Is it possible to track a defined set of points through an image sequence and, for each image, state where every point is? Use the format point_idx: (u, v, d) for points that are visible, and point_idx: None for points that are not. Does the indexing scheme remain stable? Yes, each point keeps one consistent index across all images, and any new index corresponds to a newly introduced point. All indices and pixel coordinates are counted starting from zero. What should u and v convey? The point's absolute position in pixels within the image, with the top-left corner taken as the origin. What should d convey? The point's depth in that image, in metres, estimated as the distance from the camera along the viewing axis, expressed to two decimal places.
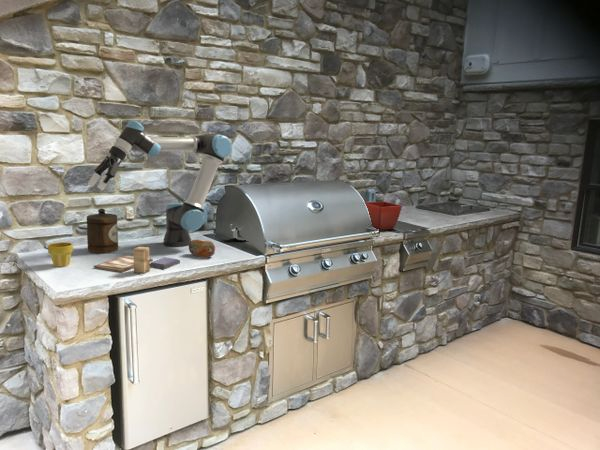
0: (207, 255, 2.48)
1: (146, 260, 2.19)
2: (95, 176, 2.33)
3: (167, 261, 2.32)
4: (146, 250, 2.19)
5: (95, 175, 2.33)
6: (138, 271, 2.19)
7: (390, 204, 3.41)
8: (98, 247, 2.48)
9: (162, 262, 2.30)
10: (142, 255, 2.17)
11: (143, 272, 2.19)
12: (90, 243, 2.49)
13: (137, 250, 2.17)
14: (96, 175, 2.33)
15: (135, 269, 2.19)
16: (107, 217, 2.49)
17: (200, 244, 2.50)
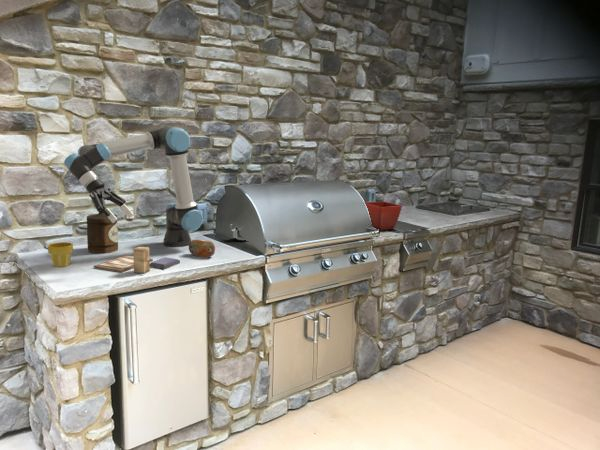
0: (207, 255, 2.48)
1: (146, 260, 2.19)
2: (123, 208, 2.29)
3: (167, 261, 2.32)
4: (146, 250, 2.19)
5: (122, 208, 2.29)
6: (138, 271, 2.19)
7: (390, 204, 3.41)
8: (98, 247, 2.48)
9: (162, 262, 2.30)
10: (142, 255, 2.17)
11: (143, 272, 2.19)
12: (90, 243, 2.49)
13: (137, 250, 2.17)
14: (122, 207, 2.29)
15: (135, 269, 2.19)
16: (107, 217, 2.49)
17: (200, 244, 2.50)
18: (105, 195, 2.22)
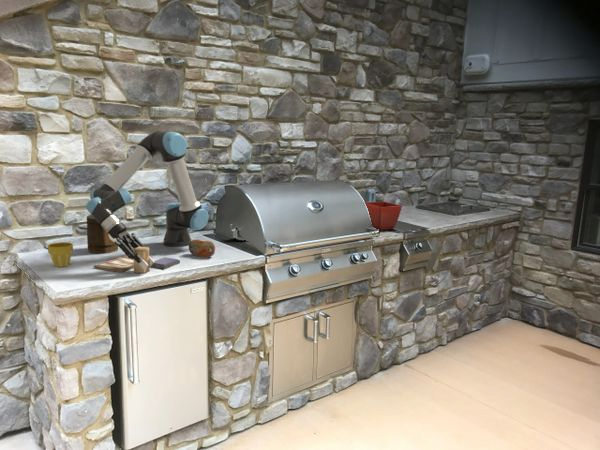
0: (207, 255, 2.48)
1: (146, 260, 2.19)
2: None
3: (167, 261, 2.32)
4: (146, 250, 2.19)
5: None
6: (138, 271, 2.19)
7: (390, 204, 3.41)
8: (98, 247, 2.48)
9: (162, 262, 2.30)
10: (142, 255, 2.17)
11: (143, 272, 2.19)
12: (90, 243, 2.49)
13: (137, 250, 2.17)
14: None
15: (135, 269, 2.19)
16: None
17: (200, 244, 2.50)
18: (127, 239, 2.19)
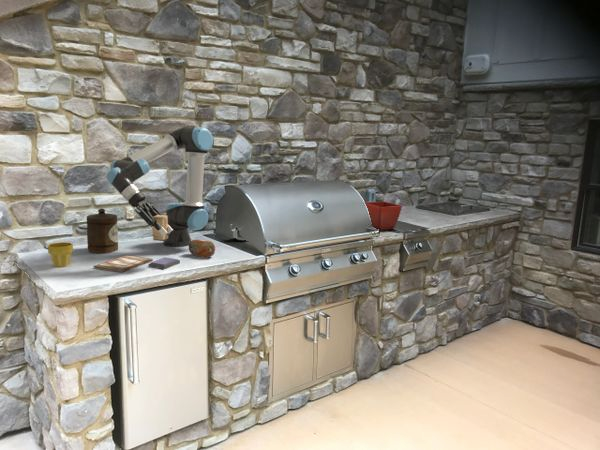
0: (207, 255, 2.48)
1: (164, 228, 2.27)
2: None
3: (167, 261, 2.32)
4: (165, 218, 2.27)
5: None
6: (157, 238, 2.27)
7: (390, 204, 3.41)
8: (98, 247, 2.48)
9: (162, 262, 2.30)
10: (161, 223, 2.25)
11: (162, 239, 2.27)
12: (90, 243, 2.49)
13: (156, 218, 2.25)
14: None
15: (154, 236, 2.27)
16: (107, 217, 2.49)
17: (200, 244, 2.50)
18: (147, 207, 2.27)
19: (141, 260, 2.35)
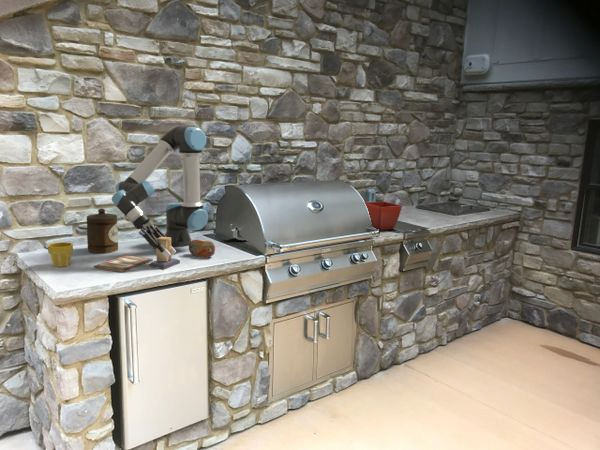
0: (207, 255, 2.48)
1: (168, 249, 2.31)
2: None
3: None
4: (168, 240, 2.31)
5: None
6: (161, 260, 2.31)
7: (390, 204, 3.41)
8: (98, 247, 2.48)
9: (162, 262, 2.30)
10: (164, 245, 2.29)
11: (165, 261, 2.30)
12: (90, 243, 2.49)
13: (160, 240, 2.29)
14: None
15: (158, 258, 2.31)
16: (107, 217, 2.49)
17: (200, 244, 2.50)
18: (151, 229, 2.31)
19: (141, 260, 2.35)
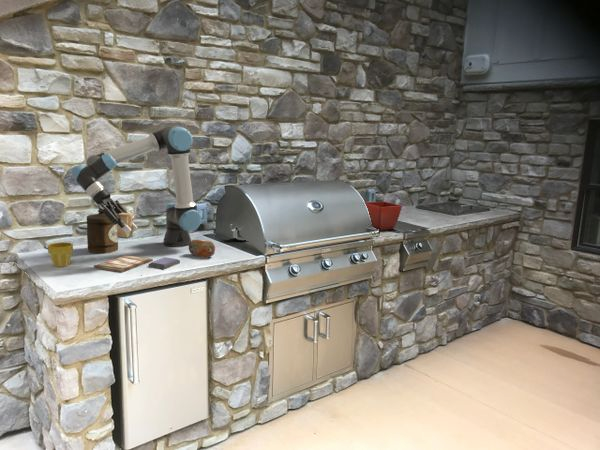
0: (207, 255, 2.48)
1: (129, 225, 2.27)
2: None
3: (167, 261, 2.32)
4: (129, 216, 2.27)
5: None
6: (121, 236, 2.27)
7: (390, 204, 3.41)
8: (98, 247, 2.48)
9: (162, 262, 2.30)
10: (125, 220, 2.25)
11: (126, 237, 2.27)
12: (90, 243, 2.49)
13: (120, 215, 2.25)
14: None
15: (118, 234, 2.27)
16: (107, 217, 2.49)
17: (200, 244, 2.50)
18: (111, 205, 2.27)
19: (141, 260, 2.35)
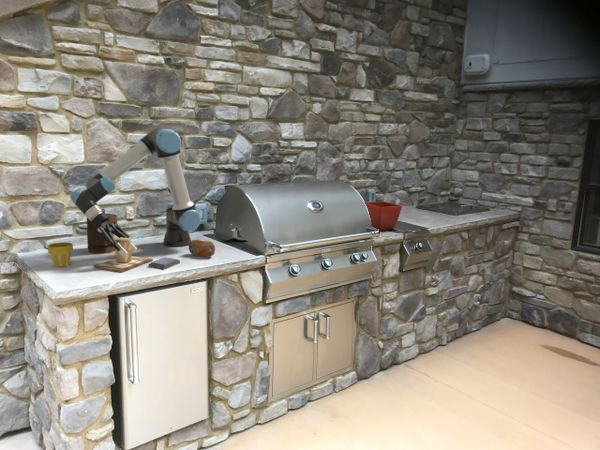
0: (207, 255, 2.48)
1: (127, 250, 2.30)
2: None
3: (167, 261, 2.32)
4: (127, 241, 2.29)
5: None
6: (120, 261, 2.29)
7: (390, 204, 3.41)
8: (98, 247, 2.48)
9: (162, 262, 2.30)
10: (123, 245, 2.27)
11: (125, 262, 2.29)
12: (90, 243, 2.49)
13: (119, 240, 2.27)
14: None
15: (117, 259, 2.29)
16: None
17: (200, 244, 2.50)
18: (110, 228, 2.30)
19: (141, 260, 2.35)
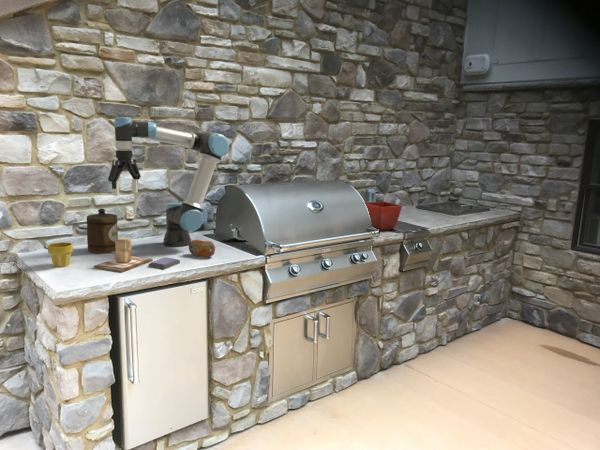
0: (207, 255, 2.48)
1: (127, 250, 2.30)
2: (133, 182, 2.43)
3: (167, 261, 2.32)
4: (128, 241, 2.29)
5: (133, 181, 2.43)
6: (120, 261, 2.29)
7: (390, 204, 3.41)
8: (98, 247, 2.48)
9: (162, 262, 2.30)
10: (123, 245, 2.27)
11: (125, 262, 2.29)
12: (90, 243, 2.49)
13: (119, 240, 2.28)
14: (133, 181, 2.43)
15: (117, 259, 2.29)
16: (107, 217, 2.49)
17: (200, 244, 2.50)
18: (126, 167, 2.35)
19: (141, 260, 2.35)
